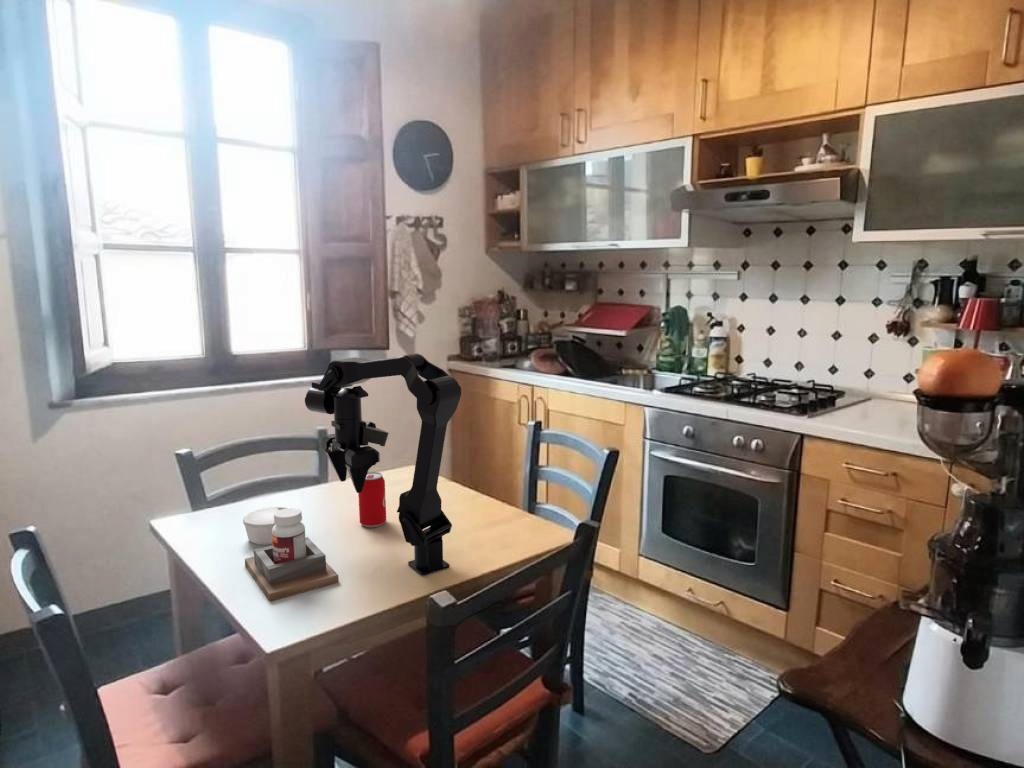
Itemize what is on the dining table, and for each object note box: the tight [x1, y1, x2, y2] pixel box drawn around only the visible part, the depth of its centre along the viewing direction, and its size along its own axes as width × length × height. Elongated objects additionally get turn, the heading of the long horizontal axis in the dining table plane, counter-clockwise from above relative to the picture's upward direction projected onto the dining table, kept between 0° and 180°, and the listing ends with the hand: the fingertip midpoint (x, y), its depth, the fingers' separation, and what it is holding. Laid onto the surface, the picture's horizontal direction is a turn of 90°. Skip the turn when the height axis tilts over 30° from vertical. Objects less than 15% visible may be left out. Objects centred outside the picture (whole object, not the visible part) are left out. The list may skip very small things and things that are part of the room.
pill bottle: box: [272, 507, 306, 564], centre depth 128 cm, size 6×6×11 cm
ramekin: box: [242, 506, 288, 546], centre depth 147 cm, size 11×11×5 cm
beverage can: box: [357, 471, 387, 528], centre depth 154 cm, size 6×6×12 cm
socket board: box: [244, 536, 340, 602], centre depth 129 cm, size 18×13×4 cm
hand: (351, 486), depth 142 cm, fingers open, 9 cm apart
